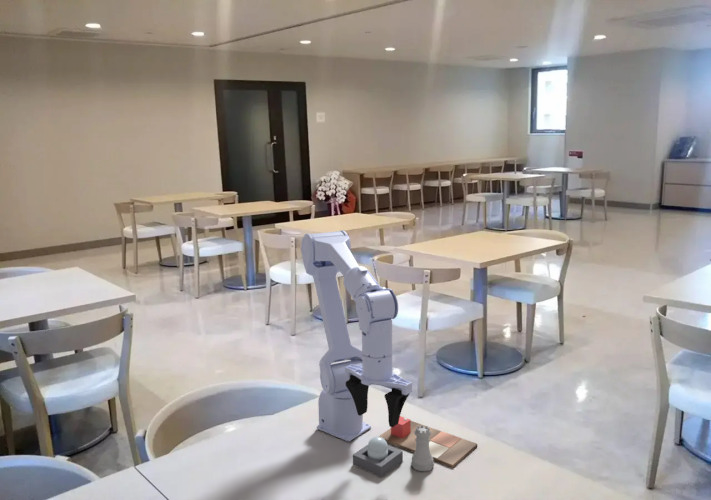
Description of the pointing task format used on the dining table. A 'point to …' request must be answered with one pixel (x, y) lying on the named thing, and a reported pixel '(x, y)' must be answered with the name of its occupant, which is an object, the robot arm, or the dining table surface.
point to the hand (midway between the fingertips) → (377, 419)
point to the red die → (402, 427)
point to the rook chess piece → (422, 450)
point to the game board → (435, 445)
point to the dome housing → (375, 466)
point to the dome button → (377, 449)
